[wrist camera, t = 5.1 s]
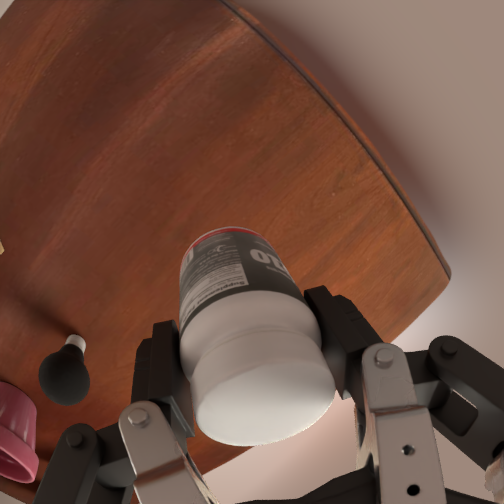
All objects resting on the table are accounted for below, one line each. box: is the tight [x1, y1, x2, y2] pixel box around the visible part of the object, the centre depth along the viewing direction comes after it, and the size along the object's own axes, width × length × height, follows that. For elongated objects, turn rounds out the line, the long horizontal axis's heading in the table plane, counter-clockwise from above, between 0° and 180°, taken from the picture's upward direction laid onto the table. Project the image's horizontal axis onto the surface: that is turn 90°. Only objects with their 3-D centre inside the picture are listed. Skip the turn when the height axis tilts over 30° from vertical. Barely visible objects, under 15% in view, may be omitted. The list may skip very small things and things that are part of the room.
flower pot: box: [0, 382, 39, 483], centre depth 29 cm, size 14×14×13 cm
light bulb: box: [39, 335, 90, 406], centre depth 28 cm, size 6×6×10 cm
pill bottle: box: [179, 227, 335, 446], centre depth 11 cm, size 5×5×8 cm
